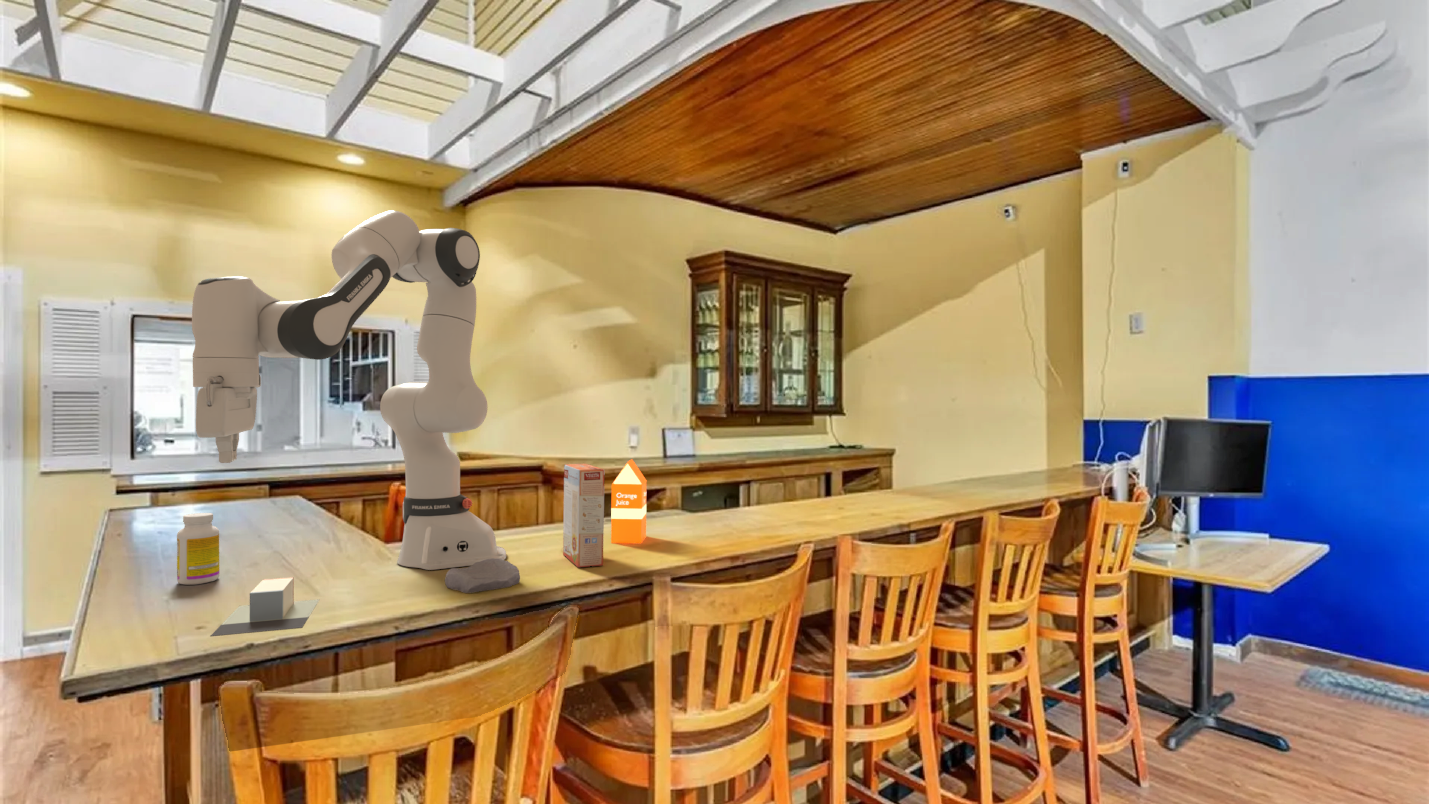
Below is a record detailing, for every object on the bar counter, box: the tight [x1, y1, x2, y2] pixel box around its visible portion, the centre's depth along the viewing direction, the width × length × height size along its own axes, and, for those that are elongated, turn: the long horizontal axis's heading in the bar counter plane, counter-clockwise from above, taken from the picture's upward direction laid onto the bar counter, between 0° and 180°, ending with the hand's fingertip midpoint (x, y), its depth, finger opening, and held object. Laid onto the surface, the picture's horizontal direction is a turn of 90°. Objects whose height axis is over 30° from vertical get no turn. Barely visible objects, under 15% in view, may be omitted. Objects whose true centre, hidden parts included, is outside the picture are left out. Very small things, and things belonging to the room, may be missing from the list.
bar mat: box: [210, 599, 320, 637], centre depth 116 cm, size 12×16×1 cm
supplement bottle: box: [176, 512, 220, 586], centre depth 138 cm, size 7×7×13 cm
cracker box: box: [562, 463, 606, 568], centre depth 158 cm, size 14×6×21 cm, turn 25°
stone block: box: [444, 558, 521, 594], centre depth 137 cm, size 12×5×10 cm
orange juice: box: [610, 458, 648, 544], centre depth 181 cm, size 8×9×20 cm
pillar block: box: [249, 576, 295, 622], centre depth 118 cm, size 4×4×9 cm
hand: (227, 462), depth 116 cm, fingers closed
